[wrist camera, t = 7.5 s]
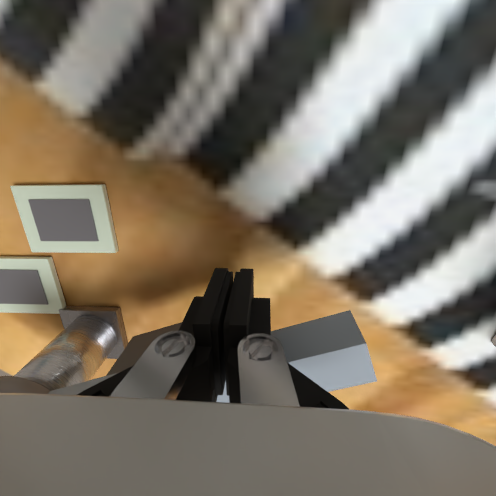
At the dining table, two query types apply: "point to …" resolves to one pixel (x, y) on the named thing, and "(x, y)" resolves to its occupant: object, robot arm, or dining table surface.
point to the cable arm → (295, 348)
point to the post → (78, 347)
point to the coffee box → (494, 340)
